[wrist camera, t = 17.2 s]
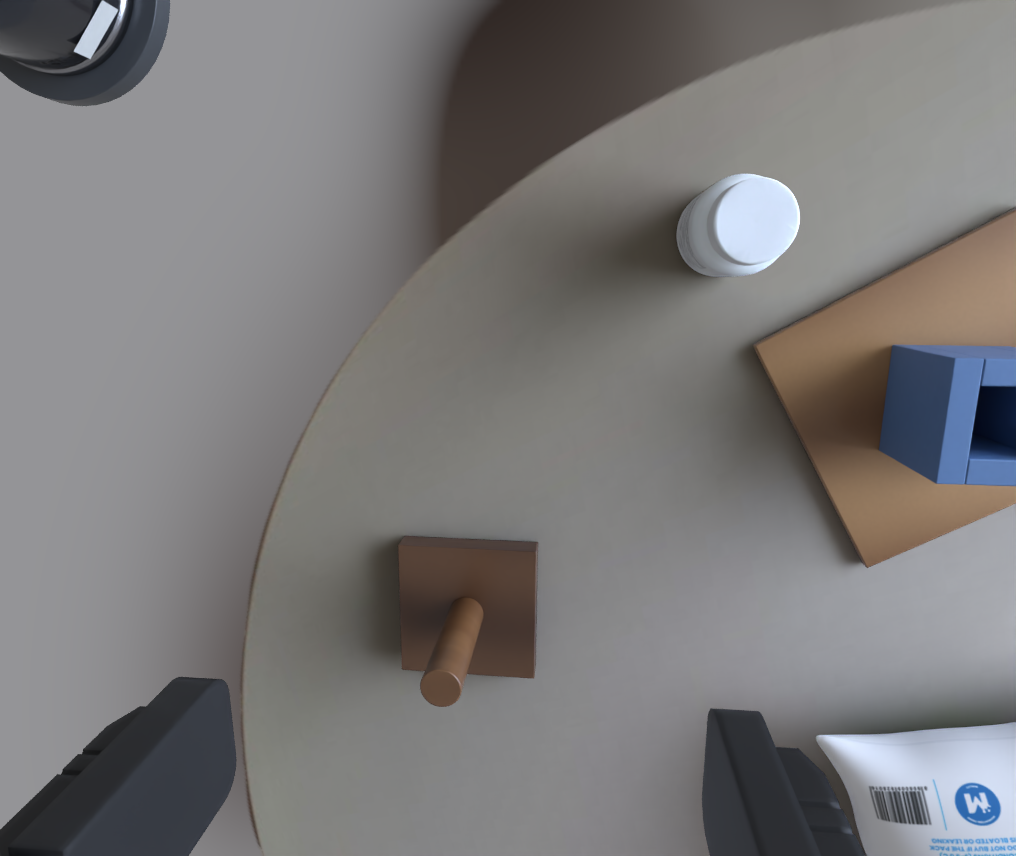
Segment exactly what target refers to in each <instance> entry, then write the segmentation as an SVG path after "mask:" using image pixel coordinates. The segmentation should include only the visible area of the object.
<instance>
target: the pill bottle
mask: <svg viewBox="0 0 1016 856" xmlns="http://www.w3.org/2000/svg"><path fill="white" fill-rule="evenodd" d="M799 223H800V213H799V206H798V203H797V201H796V199H795V197H794V195H793V194H792V192H791V191H790V190H789V189H788V188H787V187H786V186H785V185H783V184H782V183H780V182H778V181H776V180H774V179H770V178H766V177H762V176H758V175H754V174H737V175H733V176H729V177H726V178H724V179H722V180H720V181H718V182H716V183H714V184H713V185H711V186H710V187H709V188H707V189H706V190H705V191H703V192H702V193H701V194H699V195H698V196H697V197H696V198H694V199H693V200H692V201H691V202H690V203H689V204H688V206H687V207H686V208H685V210H684V211H683V213H682V215H681V217H680V219H679V222H678V226H677V245H678V249H679V252H680V254H681V256H682V258H683V259H684V261H685V262H686V263H687V264H688V265H689V266H690V267H691V268H692V269H694V270H695V271H697V272H699V273H701V274H703V275H707V276H712V277H732V276H746V275H750V274H754V273H756V272H759V271H761V270H763V269H765V268H766V267H768V266H769V265H770V264H772V263H773V262H774V261H775V260H776V259H777V258H778V257H779V256H780V255H781V254H782V253H784V252H785V251H786V249H787V248H788V247H789V246H790V245H791V243H792V242H793V240H794V238H795V236H796V234H797V231H798V228H799Z"/></svg>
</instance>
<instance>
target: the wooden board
mask: <svg viewBox="0 0 1016 856" xmlns="http://www.w3.org/2000/svg"><path fill="white" fill-rule="evenodd" d="M892 345H951V346H1010V347H1016V208H1014V209H1012V210H1010V211H1008V212H1007V213H1005V214H1003V215H1001V216H999V217H997V218H995V219H993V220H991V221H989V222H987V223H985V224H983V225H982V226H980V227H978V228H976V229H974V230H972V231H970V232H968V233H966V234H964V235H962V236H960V237H958V238H957V239H955V240H953V241H951V242H949V243H947V244H945V245H943V246H941V247H939V248H937V249H935V250H933V251H932V252H930V253H928V254H926V255H924V256H922V257H920V258H918V259H916V260H914V261H912V262H910V263H909V264H907V265H905V266H903V267H901V268H899V269H897V270H895V271H893V272H891V273H889V274H887V275H885V276H884V277H882V278H880V279H878V280H876V281H874V282H872V283H870V284H868V285H866V286H864V287H862V288H860V289H859V290H857V291H855V292H853V293H851V294H849V295H847V296H845V297H843V298H841V299H839V300H837V301H836V302H834V303H832V304H830V305H828V306H826V307H824V308H822V309H820V310H818V311H816V312H814V313H812V314H811V315H809V316H807V317H805V318H803V319H801V320H799V321H797V322H795V323H793V324H791V325H789V326H787V327H786V328H784V329H782V330H780V331H778V332H776V333H774V334H772V335H770V336H768V337H766V338H764V339H762V340H761V341H759V342H757V343H755V344H753V347H754V349H755V351H756V353H757V355H758V357H759V359H760V361H761V363H762V365H763V367H764V369H765V371H766V373H767V375H768V377H769V379H770V381H771V383H772V385H773V387H774V389H775V391H776V393H777V395H778V397H779V399H780V401H781V403H782V405H783V407H784V409H785V411H786V413H787V415H788V417H789V418H790V420H791V422H792V424H793V426H794V428H795V430H796V432H797V434H798V436H799V438H800V440H801V442H802V444H803V446H804V448H805V450H806V452H807V454H808V456H809V458H810V460H811V462H812V464H813V466H814V468H815V470H816V472H817V474H818V476H819V478H820V480H821V482H822V484H823V486H824V488H825V490H826V492H827V494H828V496H829V498H830V500H831V502H832V504H833V506H834V508H835V510H836V512H837V514H838V516H839V518H840V520H841V522H842V524H843V526H844V528H845V530H846V532H847V534H848V536H849V537H850V539H851V541H852V543H853V545H854V547H855V549H856V551H857V553H858V555H859V557H860V559H861V561H862V563H863V564H864V565H865V566H866V567H867V568H868V567H871V566H873V565H875V564H878V563H880V562H882V561H884V560H887V559H889V558H891V557H894V556H896V555H898V554H900V553H903V552H905V551H907V550H910V549H912V548H914V547H917V546H919V545H921V544H923V543H926V542H928V541H930V540H933V539H935V538H937V537H940V536H942V535H944V534H946V533H949V532H951V531H953V530H956V529H958V528H960V527H963V526H965V525H967V524H969V523H972V522H974V521H976V520H979V519H981V518H983V517H986V516H988V515H990V514H992V513H995V512H997V511H999V510H1002V509H1004V508H1006V507H1009V506H1011V505H1013V504H1015V503H1016V486H990V485H965V484H963V485H958V484H936V483H934V482H932V481H931V480H929V479H927V478H926V477H924V476H922V475H920V474H919V473H917V472H915V471H914V470H912V469H910V468H908V467H907V466H905V465H903V464H901V463H900V462H898V461H896V460H895V459H893V458H891V457H889V456H888V455H886V454H884V453H883V452H881V451H879V445H880V437H881V429H882V421H883V414H884V406H885V398H886V390H887V382H888V375H889V367H890V359H891V351H892Z"/></svg>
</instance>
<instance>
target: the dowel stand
mask: <svg viewBox="0 0 1016 856" xmlns="http://www.w3.org/2000/svg"><path fill="white" fill-rule="evenodd" d="M398 565H399V597H400V629H401V662H402V670H416V671H425V672H424V675H423V677H422V680H421V683H420V689H421V693H422V695H423V697H424V698H425V699H426V700H427V701H428V702H429V703H431V704H433V705H435V706H439V707H446V706H450V705H452V704H454V703H455V702H456V701H457V700H458V699H459V697H460V695H461V692H462V689H463V685H464V682H465V678H466V675H467V674H475V675H490V676H505V677H520V678H534V675H535V667H536V624H537V566H538V542H522V541H501V540H479V539H458V538H437V537H415V536H404V537H403V539H402V540H401V542H400V543H399V545H398Z"/></svg>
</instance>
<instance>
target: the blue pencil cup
mask: <svg viewBox="0 0 1016 856" xmlns="http://www.w3.org/2000/svg"><path fill="white" fill-rule="evenodd" d="M879 451H881V452H883V453H884V454H886V455H888V456H889V457H891V458H893V459H895V460H896V461H898V462H900V463H901V464H903V465H905V466H907V467H908V468H910V469H912V470H914V471H915V472H917V473H919V474H920V475H922V476H924V477H926V478H927V479H929V480H931V481H932V482H934V483H936V484H958V485H963V484H965V485H990V486H1016V347H1010V346H951V345H892V351H891V359H890V367H889V375H888V382H887V390H886V398H885V406H884V414H883V421H882V429H881V437H880V445H879Z"/></svg>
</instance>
